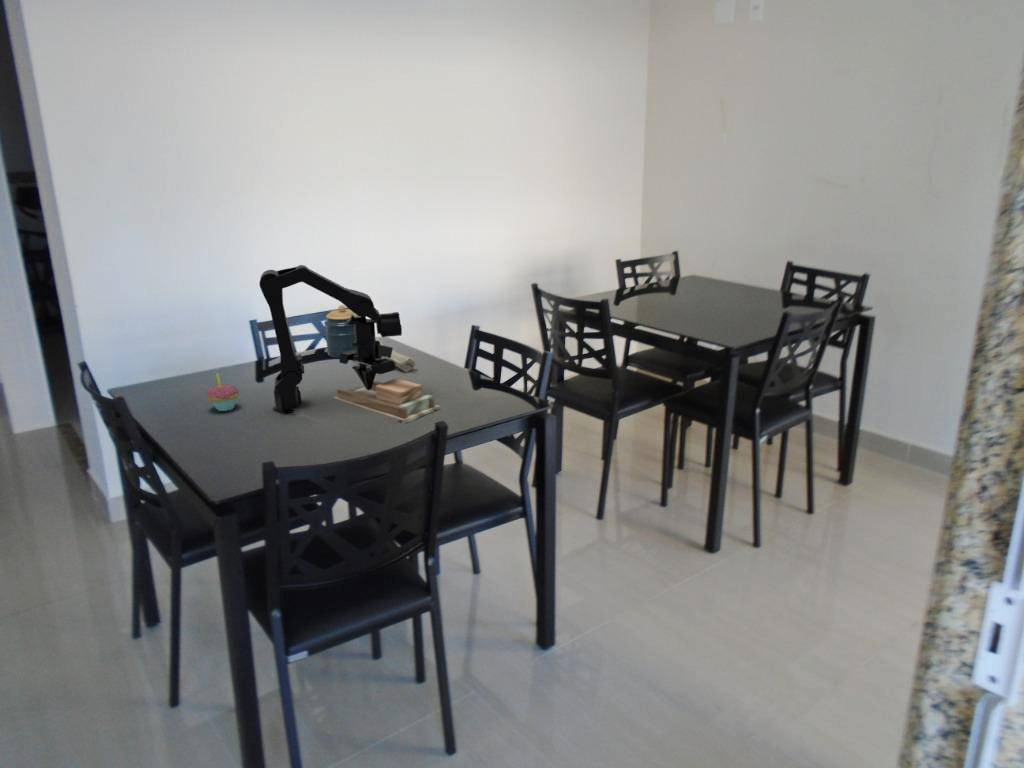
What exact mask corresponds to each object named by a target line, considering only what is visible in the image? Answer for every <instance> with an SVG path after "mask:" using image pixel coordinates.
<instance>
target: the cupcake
mask: <svg viewBox="0 0 1024 768" xmlns="http://www.w3.org/2000/svg"><path fill="white" fill-rule="evenodd" d="M215 375H216V378H217V379H216V380H217V385H216V386H213V387H212V388H210V389H209V390H208V392H207V399H208V401H209V402H211V403H212V404H213V406H214V408H215V409H217V410H219V411H225V410H230V411H232V410H234V409H235V404H236V401H237V399H238V397H239V395H240V393H239V390H238V388H237V387H236V386H233V385H230V384H224V383H223V384H222V383H221V379H220V375H219V372H216V374H215ZM233 408H234V409H233ZM231 409H232V410H231ZM217 410H216V411H217ZM219 411H218V412H219Z"/></svg>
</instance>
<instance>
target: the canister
mask: <svg viewBox="0 0 1024 768" xmlns="http://www.w3.org/2000/svg"><path fill="white" fill-rule="evenodd" d="M351 315H354V316H355V317H359V316H358V315H356V314H355V313H354V312H352V311H351V310H350V309H349V308H347V307H346V306H345V305H344V304H341V305H339V306H338V307H337V309H334V310H330V312H329V313H327V314H326V315H325V317H326V320H325V321H324V322H323V324H324V325H325V327H326V328H325V337H326V339H325V340H326V352H327V355H328V356H329V357H330V358H334V359H339V356H340V355H341V353H343V352H347V351H351V350H356V346H353V345H352V342H355V330H354V325H348V323H347V320H348V319H349V318H350V317H351Z"/></svg>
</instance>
